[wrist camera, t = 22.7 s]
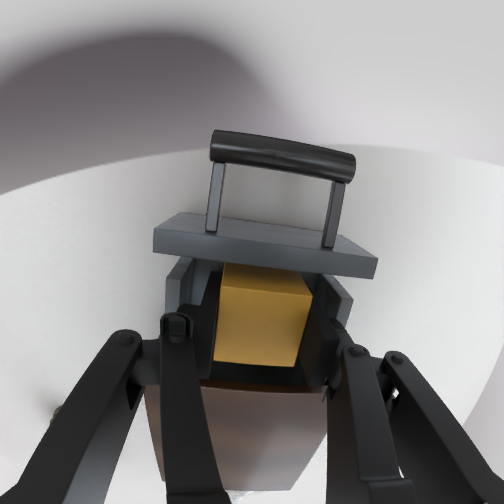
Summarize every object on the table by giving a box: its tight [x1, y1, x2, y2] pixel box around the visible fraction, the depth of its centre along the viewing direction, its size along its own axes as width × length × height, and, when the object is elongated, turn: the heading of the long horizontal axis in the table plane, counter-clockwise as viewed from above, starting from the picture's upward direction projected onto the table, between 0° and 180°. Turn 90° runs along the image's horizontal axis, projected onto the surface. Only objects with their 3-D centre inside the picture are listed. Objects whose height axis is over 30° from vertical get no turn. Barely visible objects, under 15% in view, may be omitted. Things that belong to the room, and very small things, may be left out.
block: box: [213, 262, 313, 367], centre depth 15 cm, size 4×4×4 cm
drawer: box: [153, 130, 378, 386], centre depth 17 cm, size 20×11×6 cm, turn 172°
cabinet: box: [144, 335, 329, 491], centre depth 20 cm, size 16×13×8 cm
